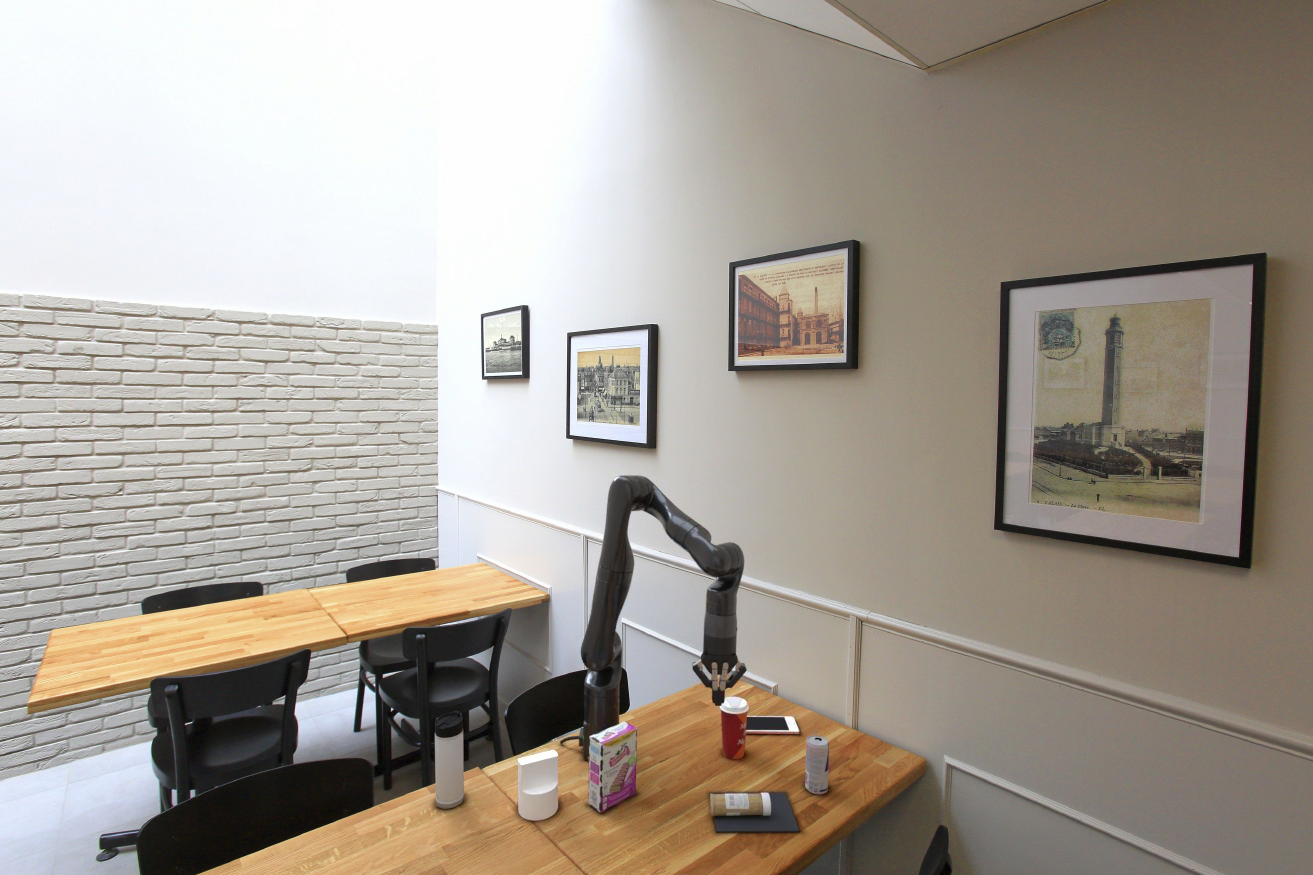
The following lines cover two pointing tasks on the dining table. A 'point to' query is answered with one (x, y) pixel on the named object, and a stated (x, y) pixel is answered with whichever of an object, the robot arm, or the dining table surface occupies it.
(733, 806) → the sprinkles bottle
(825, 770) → the energy drink
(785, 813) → the rubber mat
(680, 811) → the dining table surface
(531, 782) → the base with upright slab
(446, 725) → the travel mug
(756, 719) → the cell phone
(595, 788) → the candy bar box
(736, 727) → the paper cup
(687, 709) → the dining table surface
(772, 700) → the dining table surface
